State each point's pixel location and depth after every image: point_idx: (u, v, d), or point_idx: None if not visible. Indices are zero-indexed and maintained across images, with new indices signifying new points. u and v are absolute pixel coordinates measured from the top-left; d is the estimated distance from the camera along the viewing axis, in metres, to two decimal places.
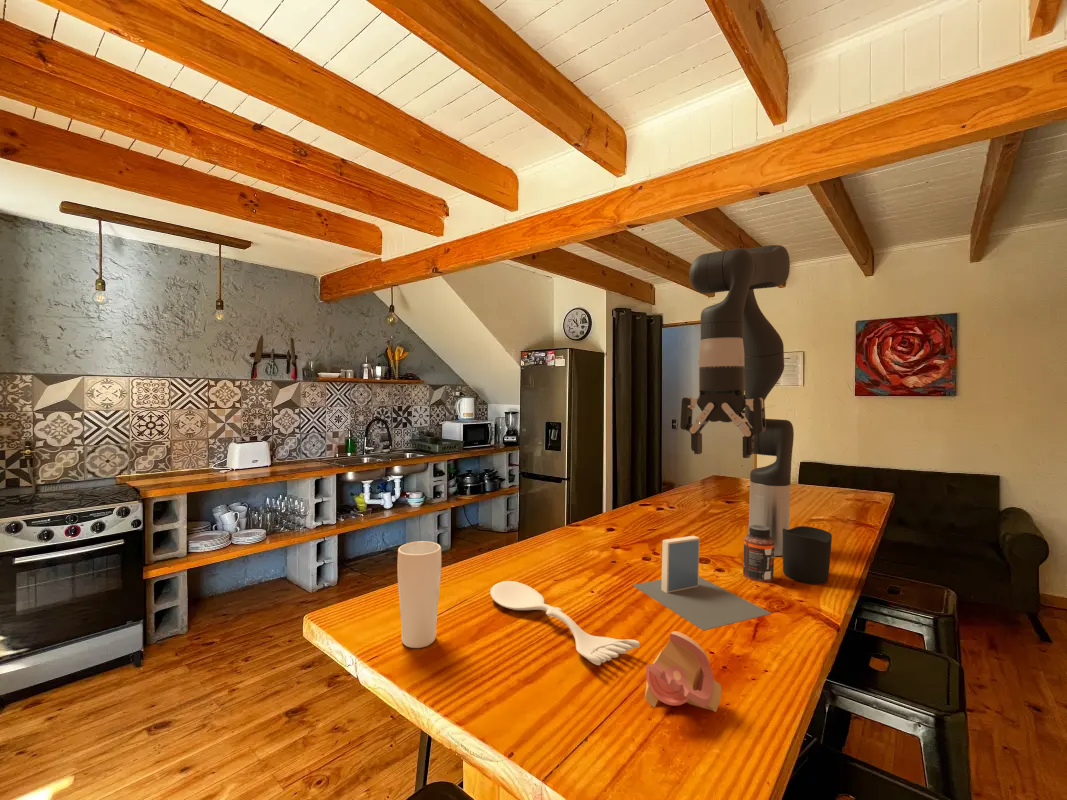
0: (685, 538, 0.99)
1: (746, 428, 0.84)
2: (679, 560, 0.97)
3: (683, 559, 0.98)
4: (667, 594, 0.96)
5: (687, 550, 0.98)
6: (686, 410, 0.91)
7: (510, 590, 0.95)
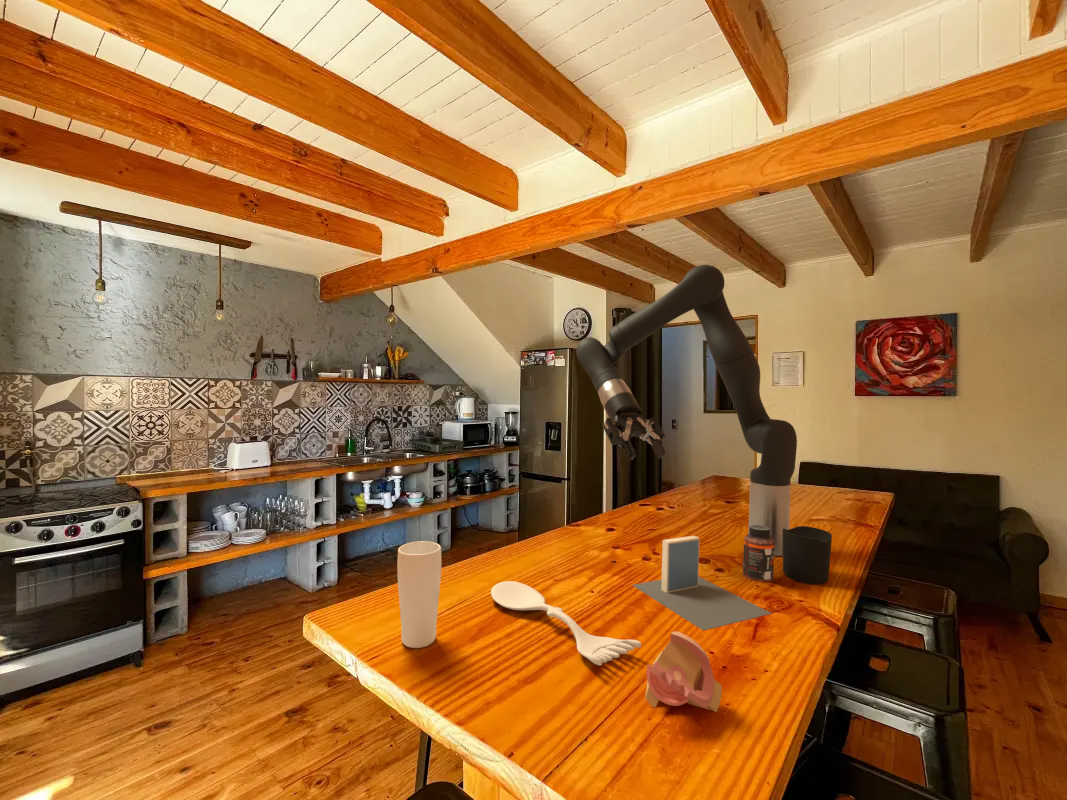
0: (685, 538, 0.99)
1: None
2: (679, 560, 0.97)
3: (683, 559, 0.98)
4: (667, 594, 0.96)
5: (687, 550, 0.98)
6: None
7: (511, 590, 0.95)
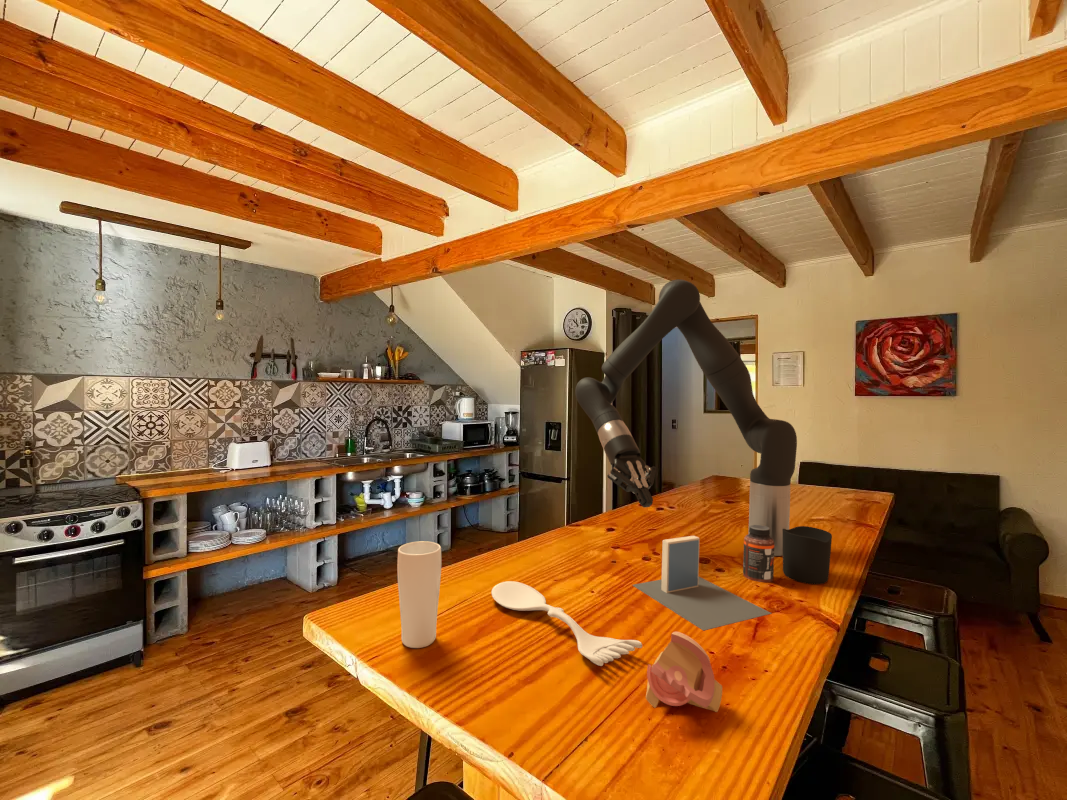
0: (685, 538, 0.99)
1: None
2: (679, 560, 0.97)
3: (683, 559, 0.98)
4: (667, 594, 0.96)
5: (687, 550, 0.98)
6: None
7: (511, 590, 0.95)
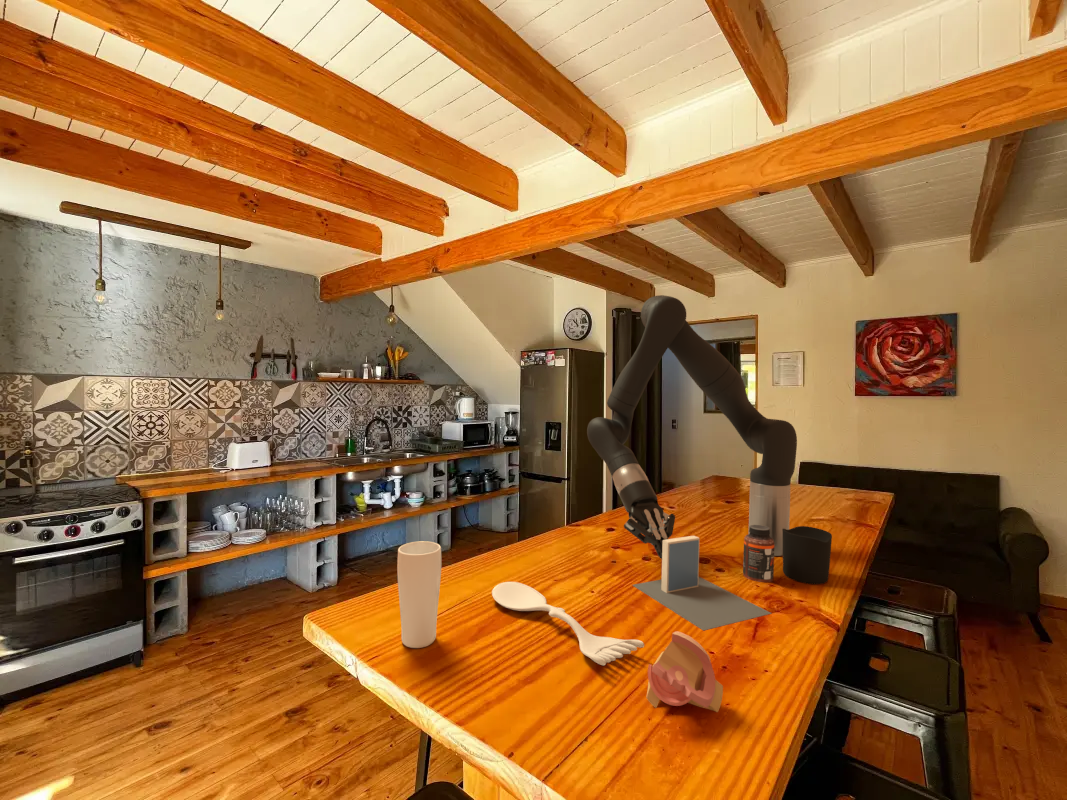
0: (685, 538, 0.99)
1: None
2: (679, 560, 0.97)
3: (683, 559, 0.98)
4: (667, 594, 0.96)
5: (687, 550, 0.98)
6: None
7: (512, 590, 0.95)
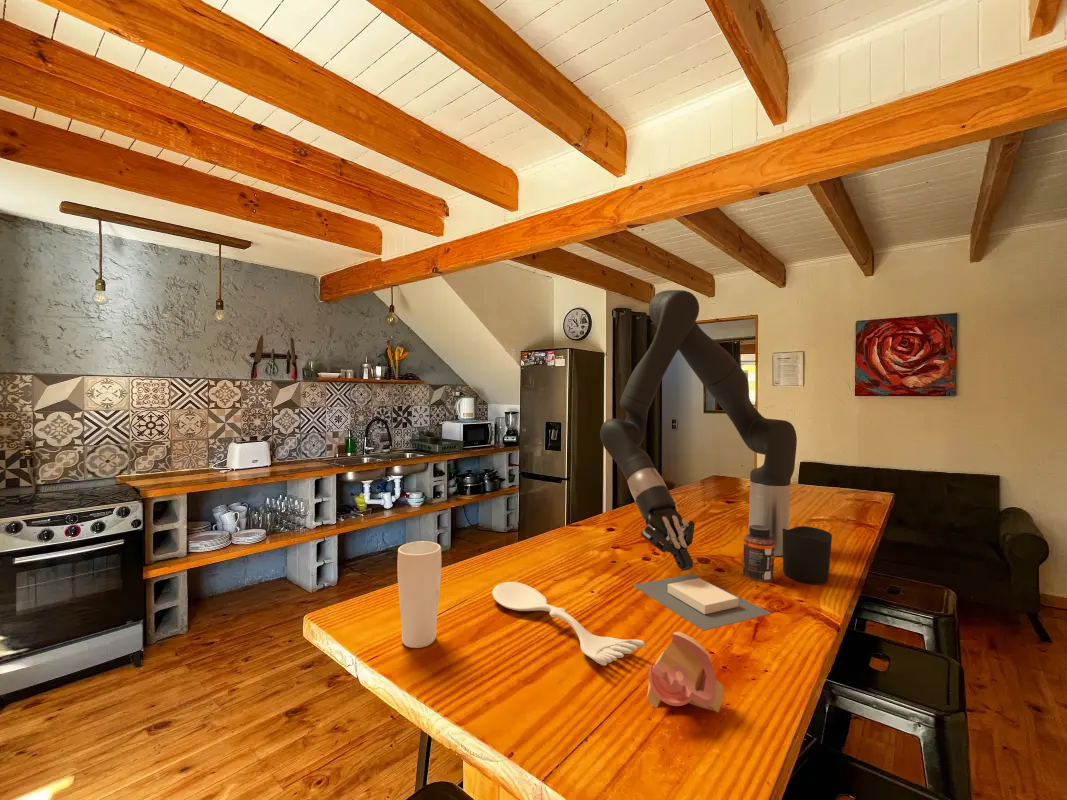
0: (726, 605, 0.89)
1: None
2: None
3: None
4: (667, 594, 0.96)
5: None
6: None
7: (512, 590, 0.95)
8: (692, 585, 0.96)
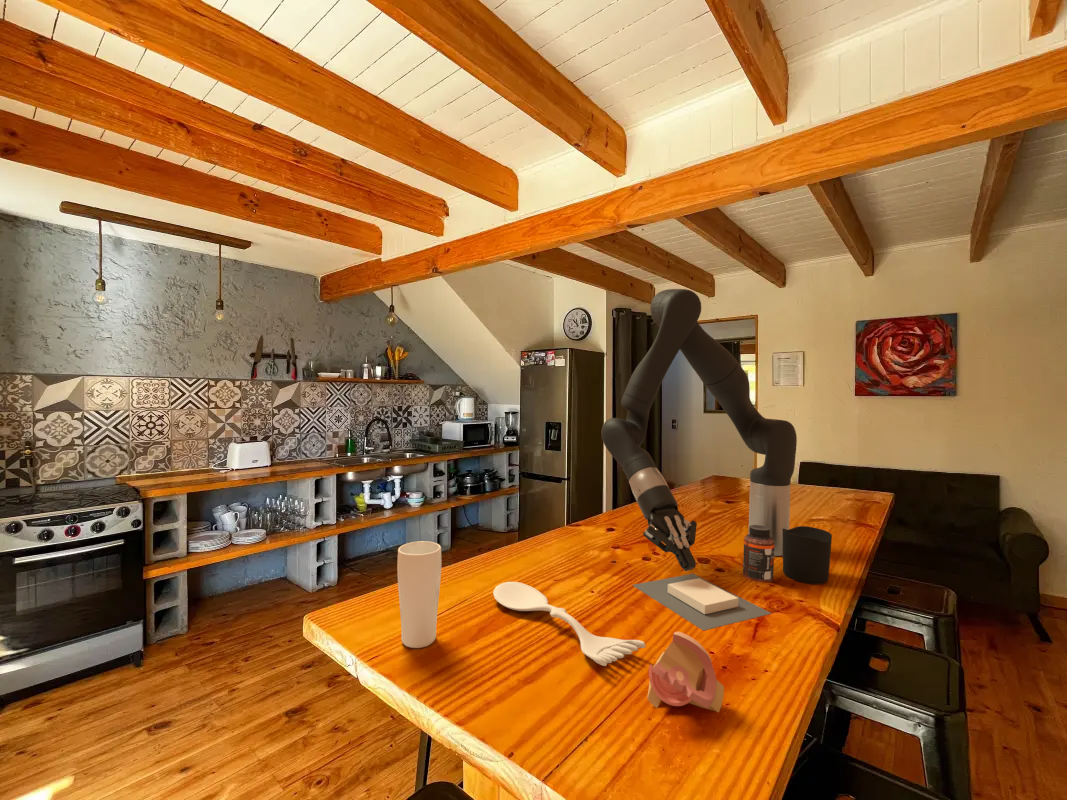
0: (726, 605, 0.89)
1: None
2: None
3: None
4: (667, 594, 0.96)
5: None
6: None
7: (513, 590, 0.95)
8: (692, 585, 0.96)
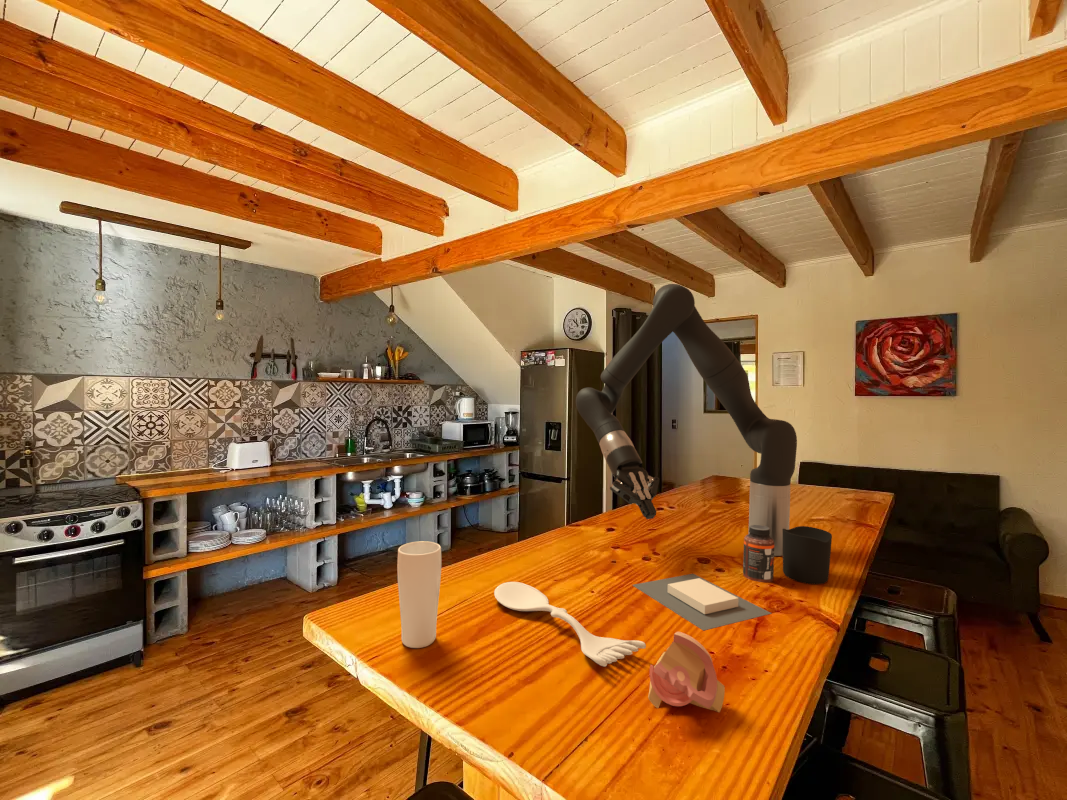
0: (726, 605, 0.89)
1: None
2: None
3: None
4: (667, 594, 0.96)
5: None
6: None
7: (514, 590, 0.94)
8: (692, 585, 0.96)
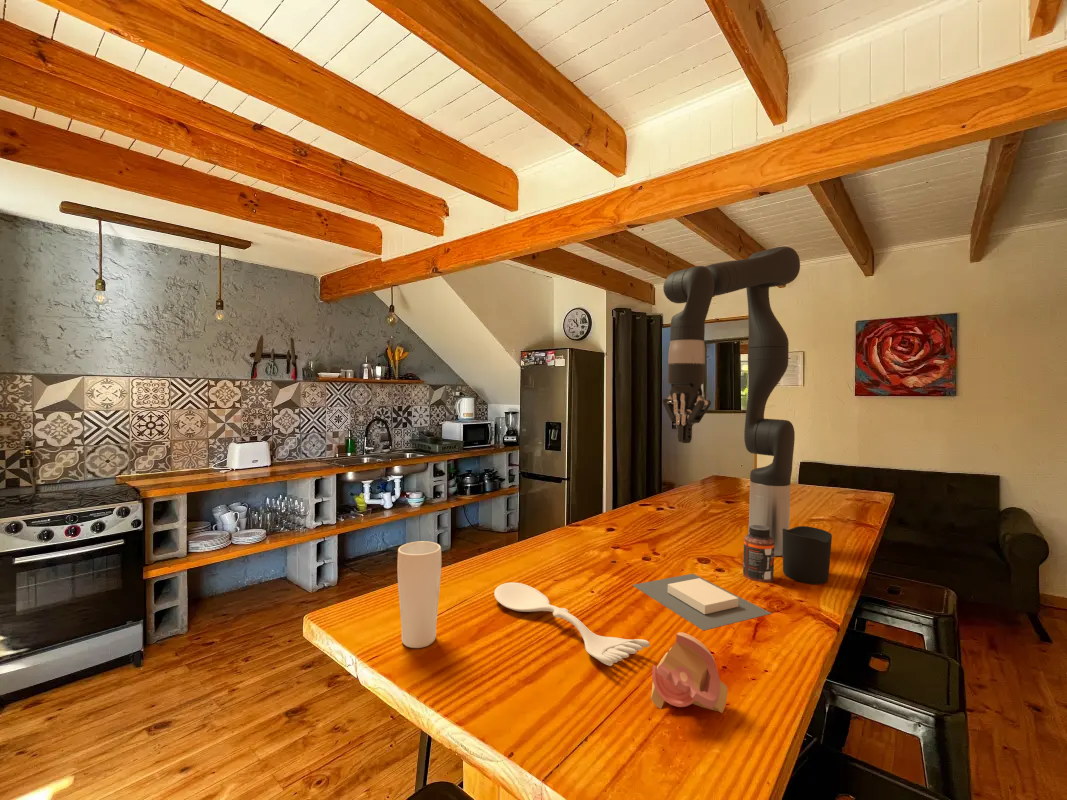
0: (726, 605, 0.89)
1: (684, 419, 1.05)
2: None
3: None
4: (667, 594, 0.96)
5: None
6: (668, 406, 1.09)
7: (514, 591, 0.94)
8: (692, 585, 0.96)
